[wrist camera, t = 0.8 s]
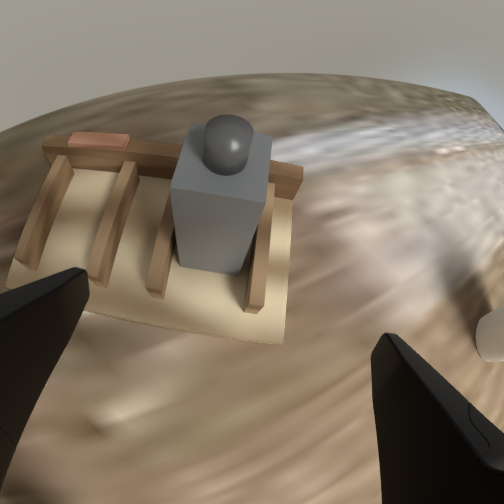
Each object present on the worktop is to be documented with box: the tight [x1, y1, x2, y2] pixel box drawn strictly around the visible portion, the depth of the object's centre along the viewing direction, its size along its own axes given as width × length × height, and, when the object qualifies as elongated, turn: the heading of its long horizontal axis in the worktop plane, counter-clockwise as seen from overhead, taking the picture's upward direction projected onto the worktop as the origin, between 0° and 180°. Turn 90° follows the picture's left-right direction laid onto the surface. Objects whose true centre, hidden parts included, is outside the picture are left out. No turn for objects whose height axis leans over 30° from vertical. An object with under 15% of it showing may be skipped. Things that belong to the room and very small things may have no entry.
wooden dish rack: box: [5, 131, 303, 345], centre depth 22 cm, size 14×24×5 cm, turn 84°
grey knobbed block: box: [170, 115, 272, 276], centre depth 19 cm, size 4×4×12 cm
